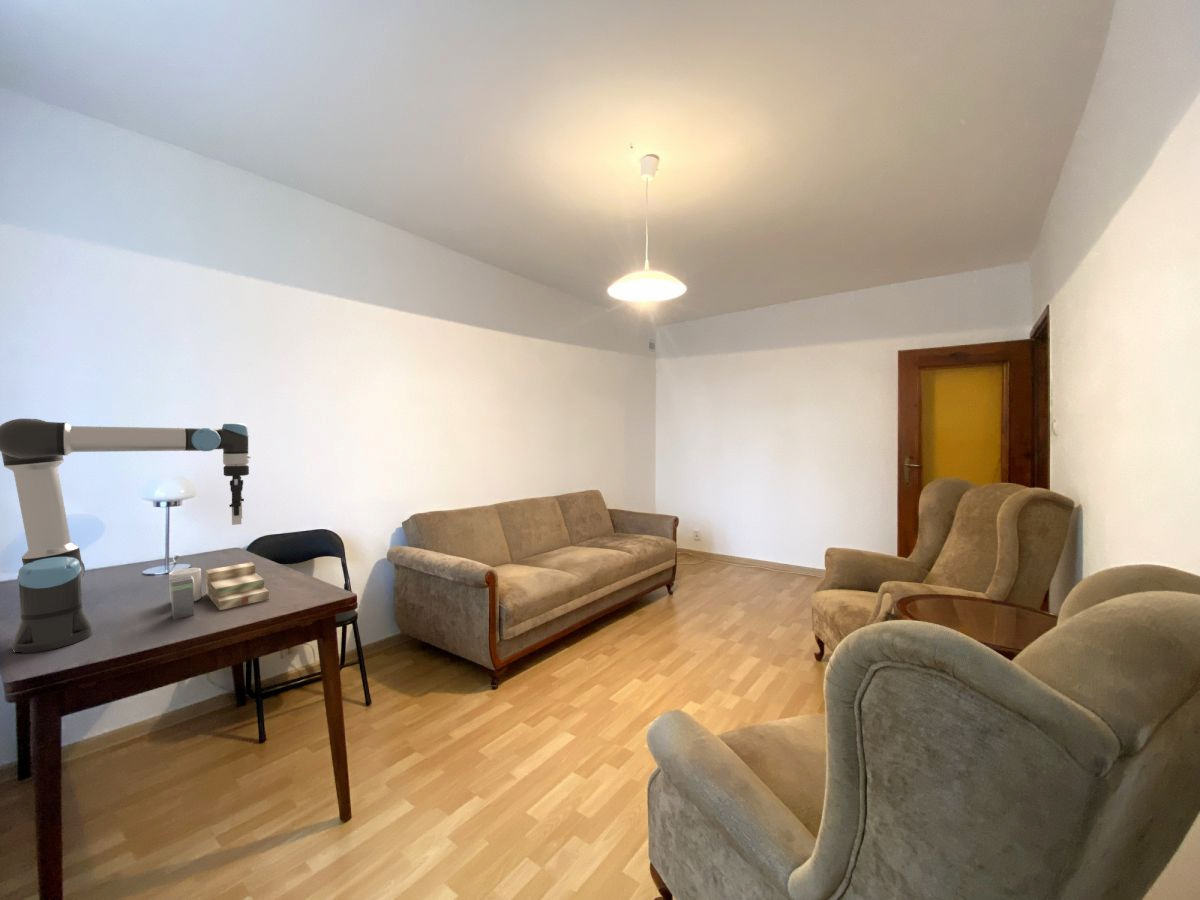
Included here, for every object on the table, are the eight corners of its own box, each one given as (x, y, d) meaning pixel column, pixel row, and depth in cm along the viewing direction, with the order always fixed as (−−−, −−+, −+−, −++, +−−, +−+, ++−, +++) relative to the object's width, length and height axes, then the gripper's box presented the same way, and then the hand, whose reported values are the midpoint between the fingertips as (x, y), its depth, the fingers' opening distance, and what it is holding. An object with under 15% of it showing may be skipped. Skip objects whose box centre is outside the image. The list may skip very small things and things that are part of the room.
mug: (178, 608, 162) (177, 577, 162) (166, 601, 169) (165, 572, 168) (209, 600, 169) (208, 571, 169) (196, 594, 176) (195, 566, 175)
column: (173, 619, 153) (172, 582, 152) (171, 615, 156) (169, 579, 156) (194, 614, 157) (193, 579, 156) (191, 610, 160) (190, 575, 160)
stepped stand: (220, 610, 160) (219, 584, 160) (206, 593, 177) (205, 570, 176) (269, 599, 171) (268, 574, 170) (252, 584, 187) (251, 562, 187)
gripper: (248, 466, 169) (249, 525, 170) (249, 462, 189) (250, 515, 190) (221, 467, 164) (222, 528, 165) (225, 463, 185) (226, 517, 185)
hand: (237, 521), depth 177 cm, fingers open, 13 cm apart
